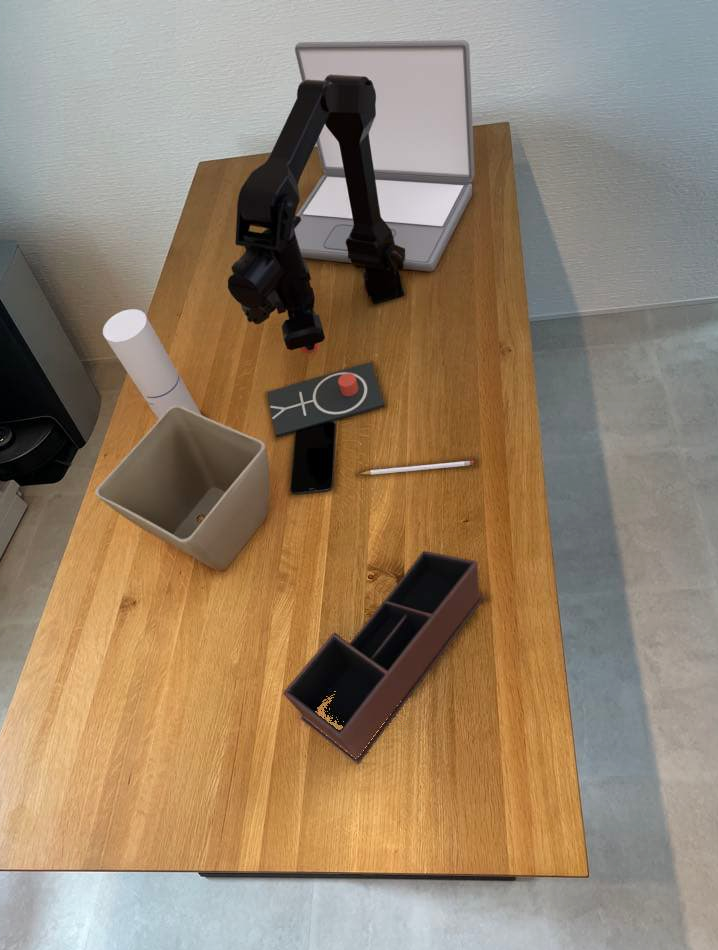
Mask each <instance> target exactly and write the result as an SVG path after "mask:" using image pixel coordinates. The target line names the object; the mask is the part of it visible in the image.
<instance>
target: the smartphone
mask: <svg viewBox="0 0 718 950" xmlns="http://www.w3.org/2000/svg"><path fill="white" fill-rule="evenodd" d="M294 435H295V436H294V443H293V444H294V446H293V455H292V465H291V466H292V467H291V477H290V478H291V479H290V493H291V494H292V495H295V496H297V495H307V494H308V495H309V494H318V493H327V492H330V491H332V490H333V488H334V481H335V461H336V459H335V458H336V439H337V424H336V423H335V421H334V422H326V423H322V424H319V425H315V426H312V427H308V428H305V429H301V430H298V431H296V432H295V433H294Z"/></svg>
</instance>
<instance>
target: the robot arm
mask: <svg viewBox="0 0 718 950" xmlns="http://www.w3.org/2000/svg"><path fill="white" fill-rule="evenodd" d="M375 104H376V92H375V89H374V86H373V83H372V81H371V80H369V79H368V78H367V77H364V76H348V75H331V74H330V75H328V76H327V77H326V78H325V80H324V81H322V80H305V81H303V82H302V81H301V82H300V83H299V85H298V87H297V90H296V99H295V101H294V104H293V106H292V108H291V109H290V112H289V114H288V116H287V118H286V120H285V123H284V125H283V127H282V128H281V131H280V134H279V136H278V137H277V139H276V141H275V144H274V146H273V148H272V150H271V152H270V154H269V157H268V158H267V159H266V161H265V162H264V163H263V164H261V165H260V166H258V167H257V168H255V169H254V170H252V171H251V173H250V174H249V176H248V177H247V179H246V180H245V181H244V183H243V185H242V186H241V188H240V190H239V193H238V196H237V202H236V224H235V242H234V243H235V245H236V246H239V247H244V249H245V252H244V253H243V254H242V255H241V256H240V257H239V259H237V260H236V261H235V262H234V263H233V264H232V265H231V272H232V273H231V275H230V276H229V277H228V279H227V289H228V292H229V293H230V295H231V296H232V298H233V299H234V300H235V301H237V303H239V304H240V306H241V310H242V312H243V313H244V315H245V317H246V318H247V319H246V320H247V322H248V323H253V324H254V325H260V324H262V323H263V322H265V321H266V320H269V318H270V315H271V314H272V313H274V312H275V310H276V311H277V314H278V315H281V314H284V313H286V312H287V318H288V319H285V320H284V321H283V323H282V324H281V331H282V337H283V341H284V344H285V347H286V349H287V350H288V351H294V350H297V349H301V348H302V347H305V348H306V349H307V350H308V351H309V350H313V349H314V346H315V344H316V343H323V342H324V341H325V339H326V335H325V332H324V328H323V324H322V320H321V317H320V314H317V313H315V303H316V302H315V300H316V295H315V292H314V288H313V287H312V285H311V282H310V281H311V280H312V278H311V273H310V269H309V266H308V262H307V261H306V260H304V258H303V257H302V255H301V251H300V248H299V244H298V241H297V237H296V234H295V230H294V229H295V228H296V226H297V225H298V224H299V223H300V221H301V217H300V216H296V213H297V209H298V208H299V203H300V200H301V197H300V191H299V183H300V179H301V177H302V175H303V172H304V170H305V168H306V165H307V164H308V161H309V159H310V157H311V155H312V153H313V151H314V148H315V147H316V145H317V143H316V142H317V140H318V138H319V136H320V133H321V131H322V129H323V127H324V125H326V127H327V128H328V129H329V131H330V132H331V133H332V134H333V136H334V137H335V138H336V140H337V141H338V142H339V146H340V152H341V157H342V163H343V168H344V173H345V179H346V184H347V190H348V195H349V201H350V206H351V212H352V217H353V223H354V226H353V228H352V231H351V233H350V235H349V237H348V238H347V239H346V246H347V249H348V258H349V259H350V260H351V262H352V263H351V264H352V265H354V266H355V268H356V269H363V270H364V271H362V273H361V274H362V278H363V282H364V287H365V291H366V294H367V297H369V298H370V299H371V300H370V301H371V302H372V304H373V305H376V304H380V303H383V302H386V301H390V300H394V299H397V298H401V297H403V296H405V291H404V288H403V285H402V281H401V280H402V279H401V274H400V273H401V272H400V271H402V270H404V269H403V268H404V264H403V262H404V261H405V248H402V247H400V246H397V245H395V243H394V238H393V234H392V231H391V229H390V228H389V227H388V225H387V224H386V223H385V222H384V220H383V219H382V218H381V215H380V208H379V202H378V195H377V188H376V181H375V174H374V168H373V161H372V154H371V147H370V140H369V131H370V129H371V126H372V124H373V121H374V119H375V116H376V107H375ZM250 227H256V228H262V229H263V231H262V232H258V231H253V230H250Z"/></svg>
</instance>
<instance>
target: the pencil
mask: <svg viewBox="0 0 718 950" xmlns="http://www.w3.org/2000/svg"><path fill="white" fill-rule="evenodd" d="M465 466H467V467H468V466H475V460H464V461H455V462H454V461H453V462H443V463H434V464H424V465H423V464H422V465H411V466H401V467H391V468H381V469H371V470H367V471H364V472H360V475H367V476H368V475H370V476H373V475H384V474H392V473H402V472H405V473H406V472H414V471H425V470H434V469H447V468H456V467H457V468H458V467H465Z"/></svg>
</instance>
